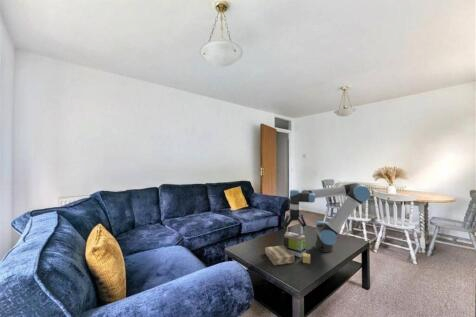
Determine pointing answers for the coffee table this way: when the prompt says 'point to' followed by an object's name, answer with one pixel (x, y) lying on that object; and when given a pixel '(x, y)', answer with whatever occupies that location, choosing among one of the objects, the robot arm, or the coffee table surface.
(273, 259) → the oak pedestal
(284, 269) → the coffee table surface
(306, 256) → the mustard cube
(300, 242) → the tea box
